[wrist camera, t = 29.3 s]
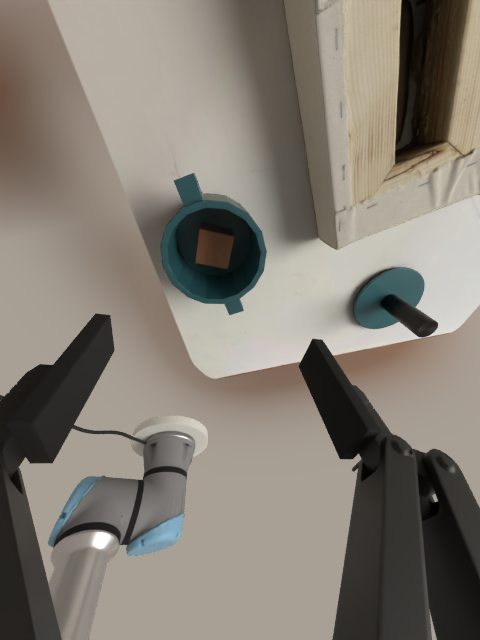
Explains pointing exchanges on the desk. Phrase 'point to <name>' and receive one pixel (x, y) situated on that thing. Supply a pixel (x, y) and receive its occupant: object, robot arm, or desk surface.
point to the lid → (394, 302)
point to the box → (386, 108)
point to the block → (214, 245)
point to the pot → (183, 242)
